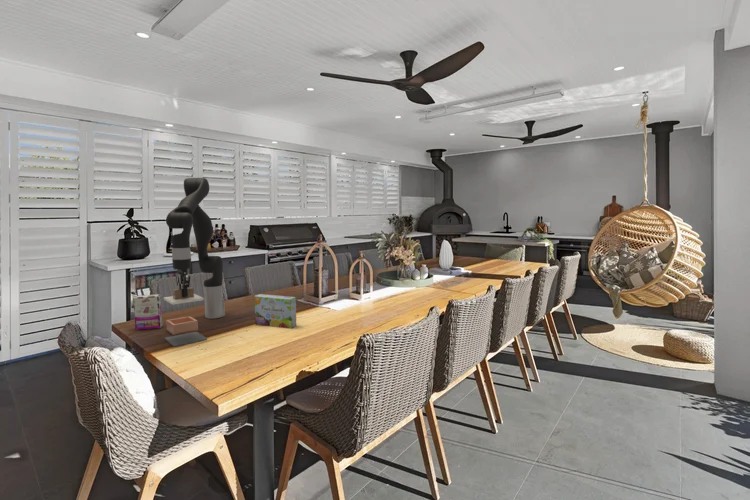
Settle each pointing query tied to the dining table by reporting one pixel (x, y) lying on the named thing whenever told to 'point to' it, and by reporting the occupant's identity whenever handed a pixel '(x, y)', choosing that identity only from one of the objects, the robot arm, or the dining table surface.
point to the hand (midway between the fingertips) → (183, 296)
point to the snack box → (275, 310)
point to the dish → (182, 325)
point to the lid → (179, 299)
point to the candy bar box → (147, 312)
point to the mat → (185, 339)
